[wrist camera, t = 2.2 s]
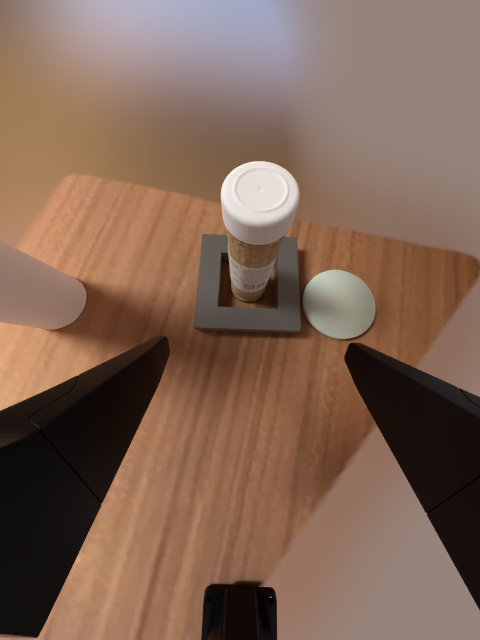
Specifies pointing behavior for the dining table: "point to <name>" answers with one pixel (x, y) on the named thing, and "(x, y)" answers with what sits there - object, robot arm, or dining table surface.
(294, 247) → the holder
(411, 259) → the dining table surface
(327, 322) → the coaster
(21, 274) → the cylindrical container
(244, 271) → the sprinkles bottle
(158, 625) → the dining table surface
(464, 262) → the dining table surface
